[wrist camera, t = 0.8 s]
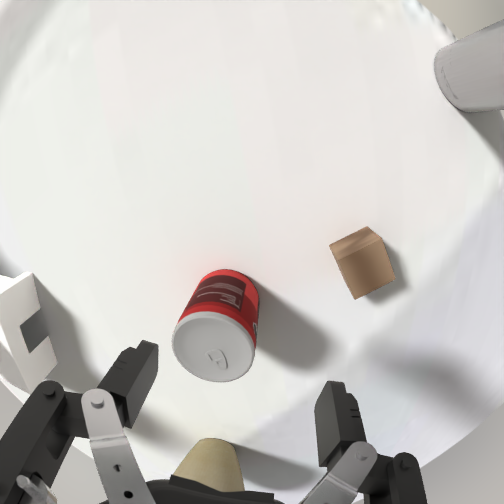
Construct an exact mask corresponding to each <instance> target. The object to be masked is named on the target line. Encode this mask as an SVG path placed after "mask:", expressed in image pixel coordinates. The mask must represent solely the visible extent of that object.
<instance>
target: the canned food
mask: <svg viewBox="0 0 504 504" xmlns="http://www.w3.org/2000/svg"><path fill="white" fill-rule="evenodd" d="M258 312H259V296H258V293H257V290H256V288H255V287H254V285H253V284H252V282H251V281H250V280H249V279H248V278H247V277H246V276H244V275H243V274H241V273H239V272H237V271H234V270H228V269H222V270H217V271H214V272H211V273H210V274H208V275H206V276H205V277H204V278H203V279H202V280H201V281H200V283H199V284H198V286H197V288H196V290H195V292H194V293H193V295H192V297H191V299H190V301H189V302H188V304H187V306H186V308H185V310H184V312H183V313H182V315H181V317H180V319H179V321H178V323H177V325H176V327H175V330H174V333H173V336H172V349H173V352H174V355H175V356H176V358H177V360H178V361H179V363H180V364H181V365H182V366H183V367H184V368H185V369H186V370H187V371H188V372H190V373H192V374H193V375H195V376H197V377H199V378H201V379H204V380H207V381H212V382H229V381H233V380H236V379H238V378H240V377H242V376H243V375H244V374H246V373H247V372H248V371H249V369H250V368H251V366H252V363H253V360H254V356H255V348H256V336H257V324H258Z"/></svg>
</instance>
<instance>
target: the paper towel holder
mask: <svg viewBox="0 0 504 504" xmlns="http://www.w3.org/2000/svg"><path fill="white" fill-rule="evenodd" d="M39 309H40V304H39V300H38V296H37V291H36V287H35V282H34V278H33V273H30V272H24V273H22V274H21V275H19V276H17V277H16V278H14V279H13V278H10V277H6V276H2V275H0V378H2V379H4V380H5V381H7V382H9V383H10V384H12V385H14V386H16V387H18V388H19V389H21V390H23V391H25V392H27V393H29V394H32V393H33V391H34V390H35V388H36V387H37V386H38V385H39V384H40V383H41V382H42V381H43V380H44V379H45V378H46V376H47V375H48V374H49V373H50V372H51V370H52V369H53V368H54V367H55V366H56V365H57V363H58V362H57V359H56V356H55V353H54V351H53V348H52V345H51V342H50V339H49V335H48V336H47V337H46V338H45V339H44V340H43V341H42V342H41V343H40V344H39V345H38V346H37V347H36V348H35V349H34V350H33V351H32V352H31V353H30V354H29V351H28V349H27V346H26V344H25V341H24V338H23V335H22V332H21V329H20V325H21V324H22V323H24V322H25V321H26V320H27V319H28V318H30V317H31V316H32V315H33V314H34V313H36V312H37V311H38V310H39Z"/></svg>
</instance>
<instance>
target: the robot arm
mask: <svg viewBox="0 0 504 504" xmlns="http://www.w3.org/2000/svg"><path fill="white" fill-rule="evenodd" d="M434 70H435V75H436V79H437V82H438V84H439V87H440V88H441V90H442V92H443V94H444V95H445V96H446V98H447V99H448V100H449V101H450V102H451V103H452V104H453V105H454V106H455V107H457V108H458V109H460V110H462V111H464V112H469V113H472V112H482V111H493V110H504V19H503V20H501V21H499V22H496V23H494V24H492V25H490V26H488V27H485V28H483V29H481V30H479V31H477V32H475V33H473V34H471V35H468V36H466V37H464V38H462V39H460V40H458V41H456V42H454V43H452V44H450V45H448V46H446V47H444V48H443V49H441V50H440V51H439V52H438V53H437V55H436V57H435V62H434ZM157 372H158V344H155V343H151V342H148V341H145V340H142V341H141V342H140V344H139V345H138V347H137V349H135V348H132V347H129V348H127V349H126V350H124V351H122V352H121V354H120V355H119V356H118V358H117V360H116V361H115V362H114V364H113V366H112V367H111V368H110V369H109V371H108V372H107V374H106V375H105V377H104V378H103V380H102V381H101V383H100V384H99V386H98V387H97V388H96V389H91V390H88V391H86V392H85V393H84V394H78V393H72V392H66V391H64V389H63V387H62V386H61V385H60V384H59V383H58V382H55V381H51V380H48V381H44V382H41V383H40V384H39V385H38V386H37V387H36V388H35V390H34V391H33V393H32V394H31V395H30V397H29V398H28V400H27V401H26V402H25V404H24V405H23V407H22V408H21V410H20V411H19V412H18V414H17V415H16V417H15V418H14V420H13V421H12V423H11V424H10V426H9V427H8V429H7V430H6V432H5V434H4V435H3V437H2V438H1V440H0V504H57V499H56V496H55V494H54V493H53V492H52V490H51V489H50V488H51V486H52V484H53V481H54V479H55V477H56V475H57V473H58V470H59V469H60V466H61V464H62V462H63V460H64V458H65V456H66V454H67V452H68V450H69V448H70V446H71V444H72V442H73V440H74V438H75V436H76V437H81V438H88V439H90V446H91V450H92V453H93V457H94V460H95V463H96V467H97V470H98V473H99V476H100V479H101V482H102V485H103V487H104V490H105V493H106V495H107V498H108V500H106V501H104V502H102V503H99V504H284V503H282V502H280V501H278V500H275V499H274V493H265V492H256V491H235V492H221V491H218V490H216V489H213V488H211V487H209V486H206V485H204V484H202V483H200V482H198V481H195V480H191V479H187V478H183V477H179V476H175V475H172V474H171V477H170V480H167V479H160V480H152V481H148V482H145V480H144V478H143V476H142V474H141V471H140V469H139V467H138V464H137V462H136V459H135V457H134V455H133V452H132V450H131V447H130V444H129V442H128V439H127V437H126V436H125V434H124V431H123V428H124V426H125V427H128V428H130V429H131V428H132V426H133V424H134V422H135V420H136V417H137V415H138V413H139V411H140V409H141V407H142V405H143V403H144V401H145V399H146V397H147V395H148V393H149V391H150V389H151V387H152V385H153V383H154V381H155V378H156V376H157ZM314 413H315V424H316V435H317V447H318V459H319V467H327V473H326V474H325V475H324V476H323V477H322V479H321V480H320V481H319V482H318V483H317V484H316V486H315V487H314V488H313V489H312V490H311V491H310V492H309V493H308V494H307V496H306V497H305V498H304V499H303V500H302V501H301V502H300V503H299V504H351V503H352V502H353V500H354V499H355V497H356V496H357V494H358V492H359V493H363V494H364V504H427V499H426V494H425V490H424V485H423V481H422V476H421V472H420V468H419V464H418V461H417V459H416V458H415V457H414V456H413V455H411V454H409V453H406V452H403V453H399V454H397V455H396V456H395V457H394V458H393V457H388V456H384V455H380V454H378V453H377V452H376V450H375V448H374V447H373V446H372V445H371V444H369V443H367V440H366V436H365V432H364V427H363V423H362V419H361V415H360V411H359V407H358V403H357V400H356V399H355V398H354V396H353V395H352V394H351V393H346V389H345V385H344V383H343V382H336V381H327V382H326V384H325V386H324V388H323V390H322V392H321V394H320V396H319V398H318V399H317V401H316V404H315V410H314Z"/></svg>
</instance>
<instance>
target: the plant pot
mask: <svg viewBox="0 0 504 504" xmlns="http://www.w3.org/2000/svg"><path fill="white" fill-rule="evenodd" d="M173 475H175V476H179V477H183V478H187V479H191V480H195V481H198V482H200V483H202V484H204V485H206V486H209V487H211V488H213V489H216V490H218V491H221V492H235V491H245V489H244V483H243V478H242V473H241V469H240V465H239V462H238V458H237V455H236V452H235V449H234V447H233V446H232V445H231V444H229V443H228V442H226V441H223V440H220V439H215V438H206V439H202V440H200V441H199V442H198V443H197V444H196V445H195V446H194V447H193V448H192V449H191V451H190V452H189V453H188V454H187V456H186V457H185V458H184V460H183V461H182V462H181V464H180V465H179V466H178V468H177V469H176V471H175V472H174V474H173Z"/></svg>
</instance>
